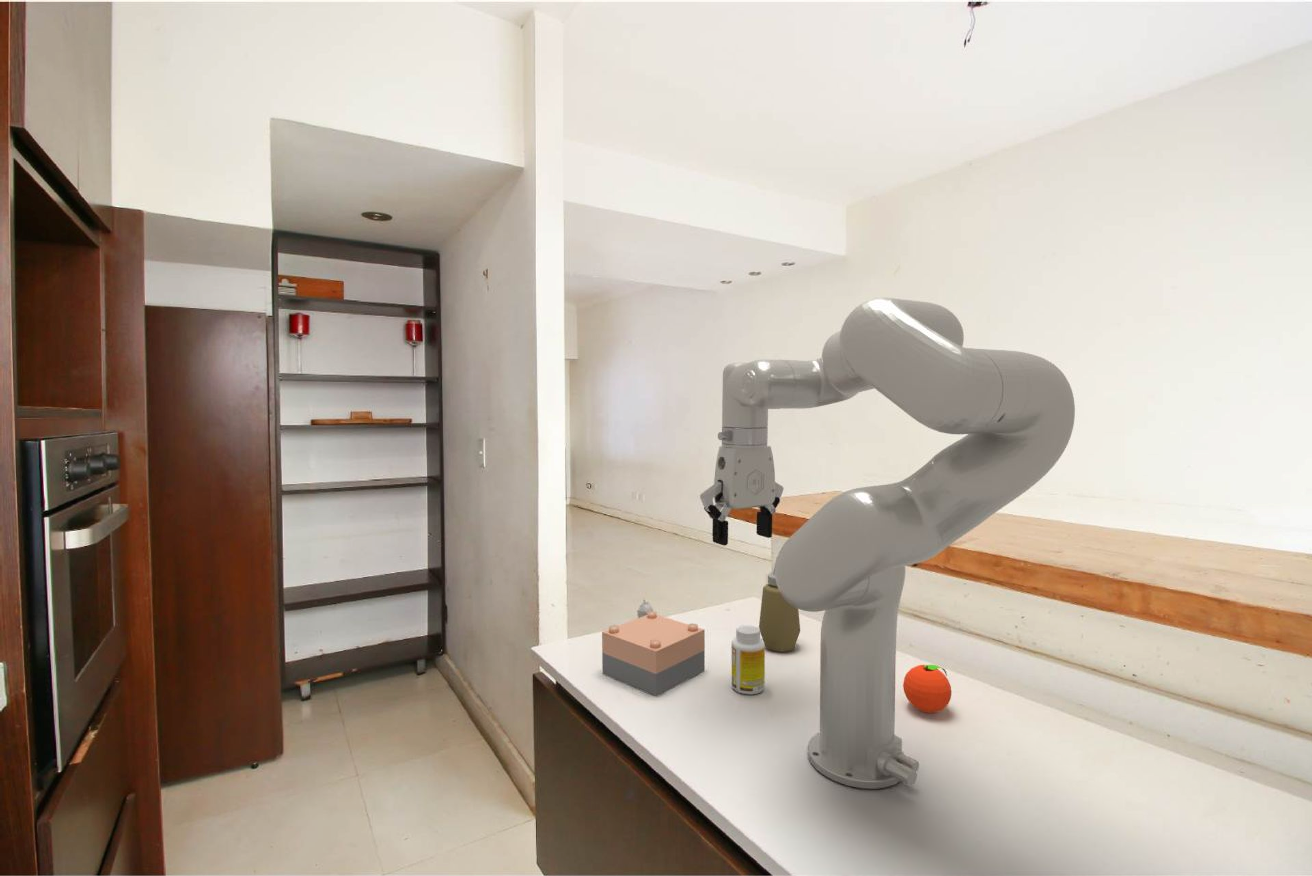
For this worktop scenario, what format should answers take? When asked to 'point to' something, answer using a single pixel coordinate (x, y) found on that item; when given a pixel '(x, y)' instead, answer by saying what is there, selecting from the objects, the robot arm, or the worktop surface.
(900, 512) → the robot arm
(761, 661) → the supplement bottle
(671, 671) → the pink and grey block
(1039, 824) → the worktop surface
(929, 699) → the clementine
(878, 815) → the worktop surface
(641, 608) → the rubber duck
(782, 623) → the squeeze bottle
